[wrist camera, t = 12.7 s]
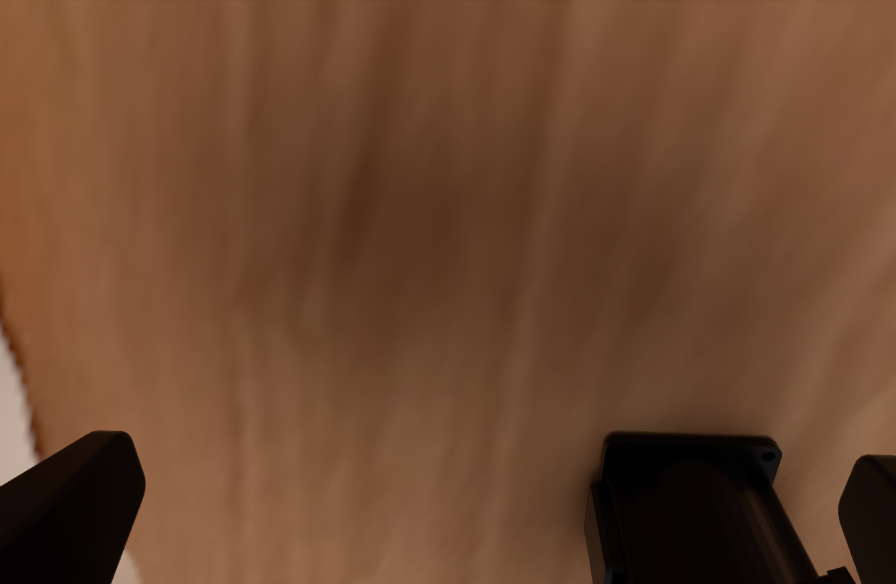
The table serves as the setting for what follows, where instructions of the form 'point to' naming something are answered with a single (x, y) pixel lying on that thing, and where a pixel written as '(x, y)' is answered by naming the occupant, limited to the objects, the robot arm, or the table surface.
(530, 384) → the table surface
